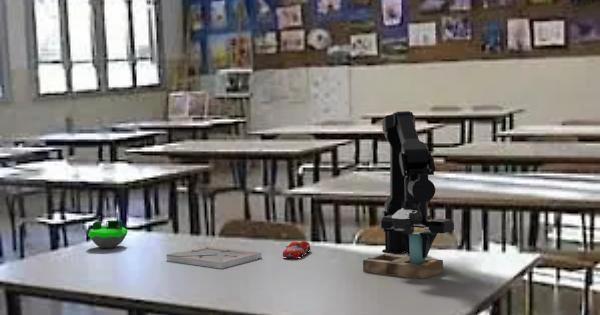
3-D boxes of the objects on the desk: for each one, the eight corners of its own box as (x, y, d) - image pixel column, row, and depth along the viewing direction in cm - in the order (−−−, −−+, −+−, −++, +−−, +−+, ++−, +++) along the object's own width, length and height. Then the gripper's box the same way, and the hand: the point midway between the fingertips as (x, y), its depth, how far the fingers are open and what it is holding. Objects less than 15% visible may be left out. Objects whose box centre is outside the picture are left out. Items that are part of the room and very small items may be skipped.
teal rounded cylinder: (406, 265, 242) (405, 234, 241) (415, 262, 245) (414, 232, 245) (420, 267, 240) (419, 235, 239) (428, 264, 243) (427, 233, 242)
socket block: (363, 271, 247) (362, 258, 247) (384, 264, 255) (384, 252, 255) (422, 278, 236) (422, 265, 236) (443, 271, 244) (442, 258, 243)
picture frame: (166, 263, 270) (221, 271, 257) (166, 254, 270) (221, 261, 257) (207, 253, 283) (261, 260, 270) (207, 245, 283) (261, 251, 269)
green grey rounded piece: (131, 244, 300) (130, 209, 299) (121, 250, 288) (120, 214, 287) (94, 244, 301) (93, 210, 300) (82, 250, 289) (81, 215, 289)
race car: (298, 261, 265) (297, 246, 265) (280, 260, 267) (279, 246, 267) (313, 251, 278) (313, 238, 277) (296, 251, 279) (295, 237, 279)
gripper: (367, 198, 241) (369, 259, 242) (431, 203, 229) (432, 266, 230) (392, 193, 249) (393, 251, 251) (454, 197, 237) (455, 258, 239)
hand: (417, 257), depth 242 cm, fingers closed on teal rounded cylinder, 4 cm apart
